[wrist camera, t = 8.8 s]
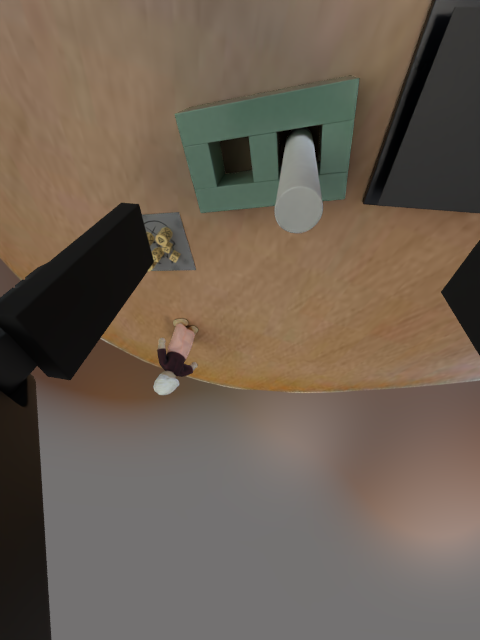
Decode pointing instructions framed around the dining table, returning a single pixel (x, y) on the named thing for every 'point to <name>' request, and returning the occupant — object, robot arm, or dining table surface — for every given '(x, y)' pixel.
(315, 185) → the gray cylindrical rod
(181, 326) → the grandmother figurine
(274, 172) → the pen stand
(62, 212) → the dining table surface
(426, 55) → the tablet
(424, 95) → the screen
